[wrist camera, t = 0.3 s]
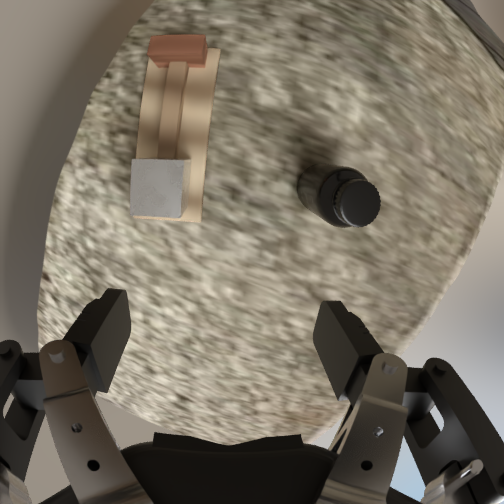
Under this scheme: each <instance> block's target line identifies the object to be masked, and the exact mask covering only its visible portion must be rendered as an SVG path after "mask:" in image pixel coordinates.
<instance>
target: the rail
mask: <svg viewBox="0 0 504 504" xmlns="http://www.w3.org/2000/svg"><path fill="white" fill-rule="evenodd" d="M147 55H148V56H149V61H148V67H147V72H146V77H145V83H144V89H143V96H142V103H141V111H140V119H139V128H138V138H137V149H136V159H137V158H146V157H156V158H166V159H179V158H184V159H191V170H190V183H189V197H188V207H187V209H186V210H185V212H184V214H183V215H182V217H181V218H167V217H151V216H134V218H141V219H158V220H173V221H188V222H201V219H202V205H203V192H204V180H205V169H206V159H207V149H208V140H209V131H210V123H211V114H212V107H213V99H214V92H215V85H216V78H217V71H218V65H219V59H220V49H217V48H207V43H206V37H205V35H157V36H151V39H150V43H149V48H148V52H147Z"/></svg>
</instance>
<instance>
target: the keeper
mask: <svg viewBox="0 0 504 504" xmlns="http://www.w3.org/2000/svg"><path fill="white" fill-rule="evenodd" d="M190 170H191V159H184V158H179V159H166V158H156V157H146V158H137V159H132V165H131V189H130V215H132V216H151V217H167V218H181V217H182V215H183V214H184V212H185V210H186V209H187V207H188V197H189V183H190Z"/></svg>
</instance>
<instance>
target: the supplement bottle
mask: <svg viewBox="0 0 504 504" xmlns="http://www.w3.org/2000/svg"><path fill="white" fill-rule="evenodd" d="M298 195H299V198H300V200H301V202H302V204H303V205H304V206H305V207H306V208H307V209H309V210H310V211H311V212H313V213H314V214H316V215H317V216H319V217H320V218H322V219H323V220H325V221H326V222H328V223H329V224H331V225H333V226H336V227H341V228H346V227H351V226H353V227H363V226H367V225H368V224H370V223H371V222H373V220H374V219H375V218H376V216H377V215H378V212H379V210H380V206H381V205H380V202H381V200H380V196H379V192H378V191H377V188H375V186H374V185H372V184H371V183H370V182H368V180H367V179H366V178H365V176H364V175H363V174H362V173H360V172H359V171H357V170H356V169H353V168H350V167H344V166H337V165H329V164H316V165H313V166H311V167H309V168H308V169H306V170H305V171H304V172H303V174H302V175H301V177H300V179H299V182H298Z"/></svg>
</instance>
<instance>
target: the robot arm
mask: <svg viewBox="0 0 504 504" xmlns="http://www.w3.org/2000/svg"><path fill="white" fill-rule="evenodd" d="M130 333H131V318H130V311H129V304H128V297H127V292H126V290H122V289H112V288H108V289H107V290H106V291H105V292H104V294H103V295H102V297H101V298H100V299H95V300H93V301H92V302H90V303H89V304H87V305H86V307H85V308H84V309H83V311H82V314H81V313H80V315H79V316H78V318H77V320H75V322H74V323H73V325H72V326H71V328H70V329H69V330H68V332H67V333H66V335H65V336H64V338H63V339H62V340H54V341H51V342H49V343H47V344H45V345H44V346H43V347H42V349H41V350H40V352H39V353H23V351H22V348H21V346H20V344H19V343H18V342H16V341H14V340H5V341H3V342H0V504H32V502H31V499H30V497H29V494H28V490H27V488H26V486H25V484H24V480H25V476H26V472H27V468H28V465H29V461H30V458H31V455H32V451H33V448H34V445H35V442H36V439H37V436H38V433H39V430H40V427H41V425H42V422H43V419H44V416H45V414H46V417H47V420H48V424H49V427H50V430H51V434H52V437H53V440H54V443H55V446H56V449H57V452H58V455H59V457H60V460H61V462H62V465H63V468H64V470H65V473H66V475H67V477H68V479H69V482H70V484H71V485H69V486H67V487H66V488H65V489H63V490H61V491H60V492H58V493H56V494H55V495H53V496H51V497H50V498H48V499H46V500H44V501H43V502H41V503H39V504H499V503H501V502H502V501H503V500H504V442H503V441H502V439H501V437H500V436H499V434H498V432H497V431H496V429H495V428H494V426H493V425H492V423H491V421H490V420H489V418H488V417H487V415H486V414H485V412H484V411H483V409H482V408H481V406H480V405H479V403H478V402H477V400H476V399H475V397H474V396H473V395H472V393H471V392H470V390H469V389H468V388H467V386H466V385H465V384H464V382H463V381H462V379H461V378H460V377H459V375H458V374H457V373H456V371H455V370H454V369H453V367H452V366H451V365H450V364H449V363H448V362H446V361H444V360H442V359H440V358H430V359H428V360H427V361H426V363H425V364H424V366H423V368H412V367H407V365H406V363H405V362H404V361H403V360H402V359H401V358H399V357H398V356H396V355H394V354H390V353H384V352H383V350H382V349H381V347H380V346H379V345H378V343H377V342H376V340H375V339H374V337H373V336H372V335H371V334H370V332H369V330H368V329H367V328H365V325H364V323H363V322H362V321H361V319H360V318H359V317H357V316H356V315H355V314H353V313H352V312H348V310H347V309H346V308H345V306H344V305H343V303H342V302H341V301H323V302H322V303H321V305H320V309H319V313H318V316H317V320H316V324H315V328H314V332H313V342H314V346H315V348H316V350H317V352H318V355H319V357H320V359H321V362H322V364H323V366H324V369H325V371H326V374H327V376H328V378H329V381H330V383H331V385H332V388H333V390H334V392H335V395H336V397H337V400H338V401H341V400H347V399H349V401H350V405H349V407H348V409H347V411H346V413H345V416H344V418H343V421H342V422H341V425H340V427H339V429H338V431H337V433H336V435H335V437H334V439H333V441H332V443H331V445H330V447H329V448H328V449H325V448H322V447H319V446H316V445H311V444H304V443H303V441H302V438H301V434H299V435H289V436H276V437H265V438H261V439H257V440H253V441H249V442H244V443H240V444H235V445H222V444H218V443H214V442H210V441H206V440H202V439H199V438H195V437H191V436H183V435H172V434H163V433H157V432H155V433H154V438H153V442H144V443H139V444H136V445H132V446H129V447H127V448H125V449H123V450H121V449H120V447H119V445H118V444H117V442H116V440H115V438H114V437H113V435H112V433H111V431H110V429H109V427H108V425H107V423H106V421H105V419H104V417H103V415H102V413H101V410H100V408H99V406H98V404H97V402H96V399H95V395H96V393H97V391H100V392H104V393H108V390H109V387H110V384H111V382H112V379H113V376H114V374H115V371H116V369H117V366H118V364H119V361H120V359H121V356H122V354H123V351H124V349H125V346H126V344H127V341H128V339H129V337H130ZM10 393H12V395H13V396H14V400H13V401H12V403H11V406H10V408H9V410H8V412H7V414H6V416H5V419H4V417H3V408H4V405H5V403H6V401H7V399H8V397H9V395H10ZM434 405H436V407H437V409H438V410H439V412H440V414H441V415H442V417H443V419H444V427H443V430H442V431H440V429H439V427H438V426H437V424H436V422H435V420H434V419H433V417H432V415H431V413H430V410H431V409H432V408H433V406H434ZM403 435H404V437H405V439H406V442H407V444H408V446H409V448H410V451H411V453H412V455H413V458H414V460H415V462H416V465H417V467H418V469H419V472H420V474H421V476H422V479H423V481H424V484H425V487H426V489H425V492H424V497H423V498H422V499H421V502H419V501H416V500H415V499H413V498H411V497H409V496H407V495H404V494H403V493H401V492H399V491H397V490H395V489H393V488H392V487H390V483H391V480H392V477H393V474H394V470H395V467H396V463H397V460H398V456H399V452H400V448H401V443H402V439H403Z"/></svg>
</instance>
